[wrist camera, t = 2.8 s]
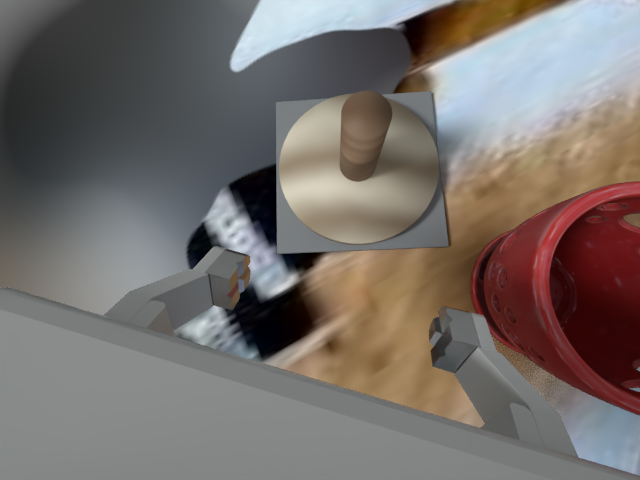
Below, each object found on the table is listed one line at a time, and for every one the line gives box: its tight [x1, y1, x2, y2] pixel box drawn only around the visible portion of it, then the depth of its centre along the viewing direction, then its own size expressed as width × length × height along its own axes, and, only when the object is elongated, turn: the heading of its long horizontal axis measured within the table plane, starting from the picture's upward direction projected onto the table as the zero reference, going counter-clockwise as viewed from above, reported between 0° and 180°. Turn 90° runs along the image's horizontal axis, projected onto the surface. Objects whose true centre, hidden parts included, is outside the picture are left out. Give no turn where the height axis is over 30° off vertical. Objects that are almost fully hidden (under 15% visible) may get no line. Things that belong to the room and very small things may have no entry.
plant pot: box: [470, 181, 640, 415], centre depth 20 cm, size 13×13×12 cm
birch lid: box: [279, 91, 439, 245], centre depth 24 cm, size 16×16×10 cm
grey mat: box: [276, 91, 449, 254], centre depth 29 cm, size 17×17×1 cm
